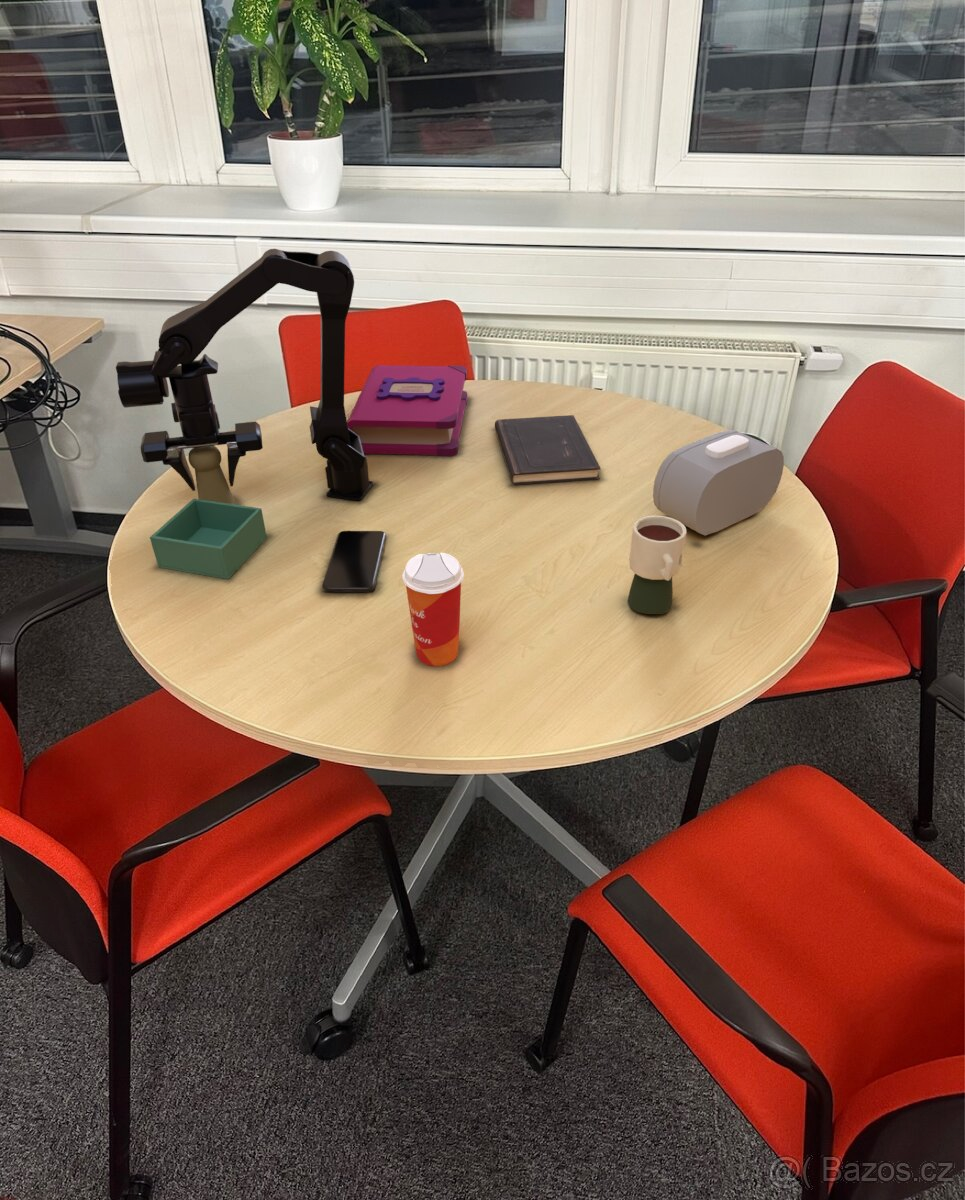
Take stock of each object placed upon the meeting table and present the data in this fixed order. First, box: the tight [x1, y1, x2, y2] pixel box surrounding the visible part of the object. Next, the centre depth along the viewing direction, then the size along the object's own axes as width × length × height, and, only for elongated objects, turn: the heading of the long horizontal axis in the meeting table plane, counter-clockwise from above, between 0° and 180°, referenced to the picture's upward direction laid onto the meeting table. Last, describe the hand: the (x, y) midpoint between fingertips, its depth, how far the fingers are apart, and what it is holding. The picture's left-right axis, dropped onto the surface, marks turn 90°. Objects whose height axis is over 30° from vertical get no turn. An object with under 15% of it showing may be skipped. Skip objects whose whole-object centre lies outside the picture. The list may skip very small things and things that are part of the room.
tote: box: [149, 498, 268, 580], centre depth 129 cm, size 12×12×6 cm
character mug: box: [627, 515, 687, 615], centre depth 115 cm, size 11×7×13 cm, turn 8°
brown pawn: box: [188, 445, 236, 505], centre depth 139 cm, size 6×6×11 cm
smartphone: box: [321, 530, 387, 593], centre depth 128 cm, size 8×1×16 cm
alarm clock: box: [652, 428, 785, 537], centre depth 135 cm, size 21×10×13 cm, turn 126°
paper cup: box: [401, 551, 465, 667], centre depth 107 cm, size 8×8×14 cm
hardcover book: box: [494, 414, 602, 486], centre depth 157 cm, size 16×23×2 cm
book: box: [347, 364, 469, 457], centre depth 166 cm, size 21×28×8 cm
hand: (213, 487), depth 140 cm, fingers closed on brown pawn, 6 cm apart
